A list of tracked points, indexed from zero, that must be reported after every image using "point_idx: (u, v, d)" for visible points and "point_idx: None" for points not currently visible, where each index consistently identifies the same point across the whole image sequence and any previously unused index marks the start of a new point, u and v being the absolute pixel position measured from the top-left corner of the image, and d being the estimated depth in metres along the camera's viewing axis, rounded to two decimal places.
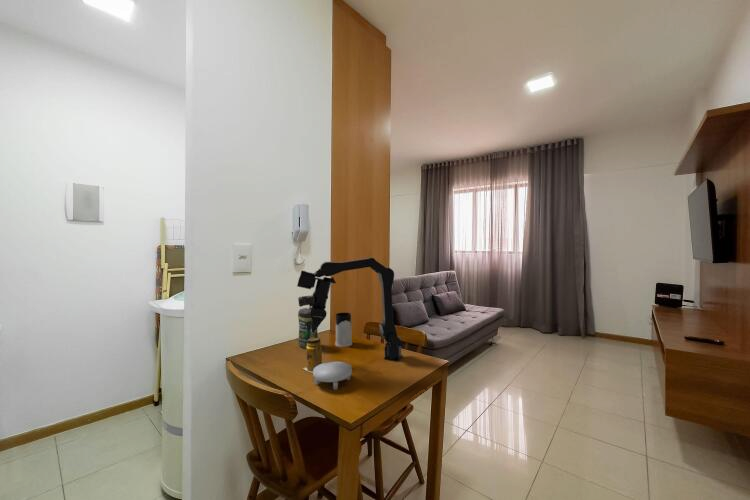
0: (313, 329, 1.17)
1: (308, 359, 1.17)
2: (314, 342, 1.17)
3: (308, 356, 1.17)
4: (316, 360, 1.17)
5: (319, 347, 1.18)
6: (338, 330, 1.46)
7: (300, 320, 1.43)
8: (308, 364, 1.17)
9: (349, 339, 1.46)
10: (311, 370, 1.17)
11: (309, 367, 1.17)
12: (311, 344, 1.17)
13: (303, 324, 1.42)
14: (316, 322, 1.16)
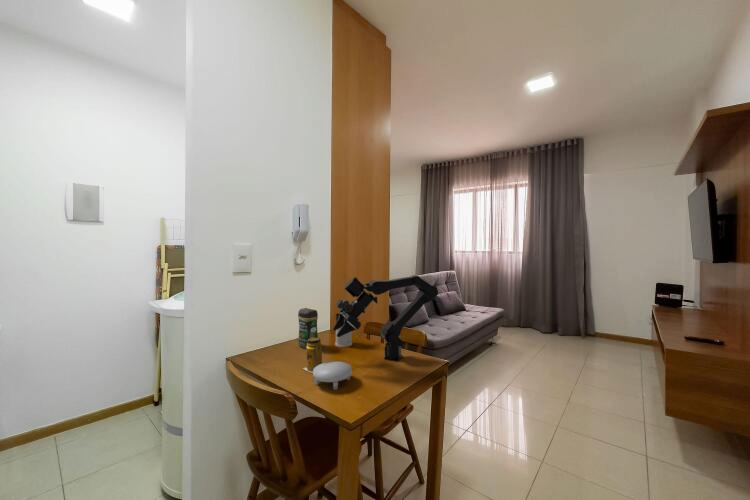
0: (339, 334, 1.17)
1: (308, 359, 1.17)
2: (314, 342, 1.17)
3: (308, 356, 1.17)
4: (316, 360, 1.17)
5: (319, 347, 1.18)
6: (338, 330, 1.46)
7: (300, 320, 1.43)
8: (308, 364, 1.17)
9: (349, 339, 1.46)
10: (311, 370, 1.17)
11: (309, 367, 1.17)
12: (311, 344, 1.17)
13: (303, 324, 1.42)
14: (345, 329, 1.17)
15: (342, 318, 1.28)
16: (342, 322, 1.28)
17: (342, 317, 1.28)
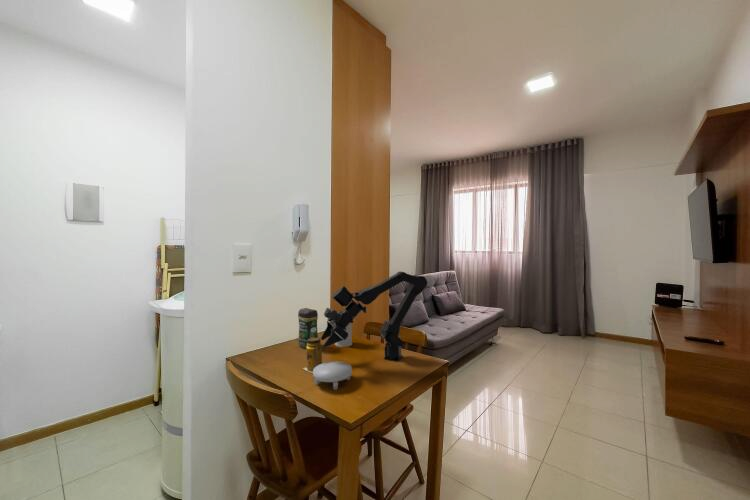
0: (326, 344, 1.16)
1: (308, 359, 1.17)
2: (314, 342, 1.17)
3: (308, 356, 1.17)
4: (316, 360, 1.17)
5: (319, 347, 1.18)
6: None
7: (300, 320, 1.43)
8: (308, 364, 1.17)
9: (349, 339, 1.46)
10: (311, 370, 1.17)
11: (309, 367, 1.17)
12: (311, 344, 1.17)
13: (303, 324, 1.42)
14: (333, 339, 1.16)
15: (330, 327, 1.26)
16: (330, 331, 1.26)
17: (330, 326, 1.27)
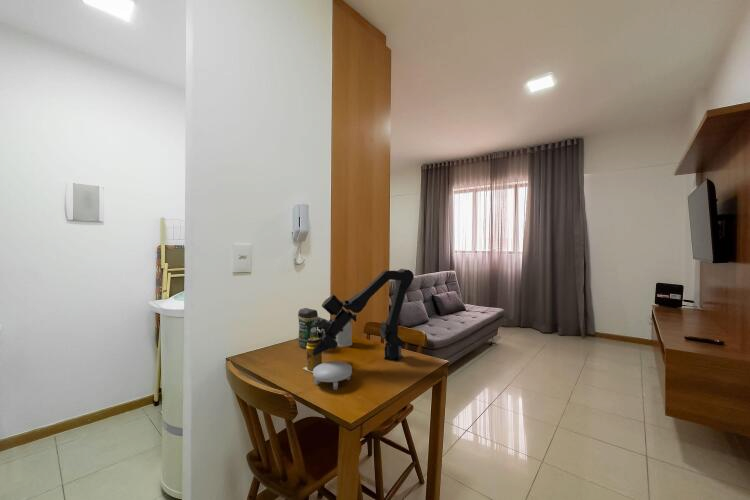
0: (315, 352, 1.16)
1: (308, 359, 1.17)
2: (314, 342, 1.17)
3: (308, 356, 1.17)
4: (316, 359, 1.17)
5: None
6: None
7: (300, 320, 1.43)
8: (308, 364, 1.17)
9: (349, 339, 1.46)
10: (311, 370, 1.17)
11: (309, 367, 1.17)
12: (311, 344, 1.17)
13: (303, 324, 1.42)
14: (321, 348, 1.16)
15: (321, 337, 1.24)
16: None
17: (321, 336, 1.24)
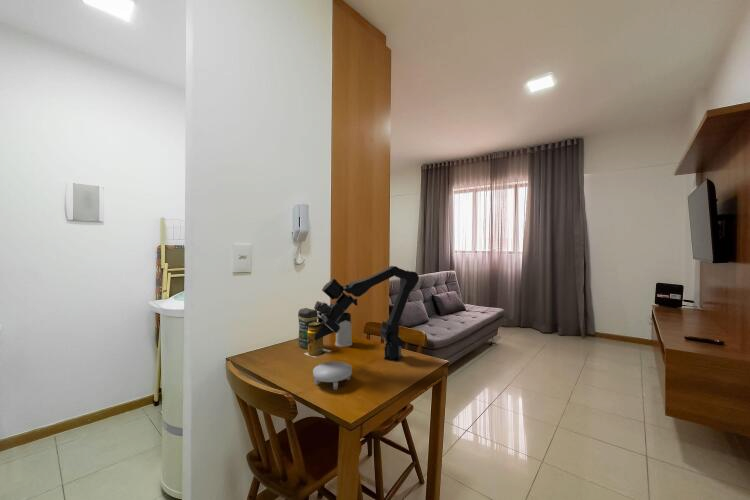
0: (317, 337, 1.14)
1: (309, 343, 1.15)
2: (315, 326, 1.15)
3: (309, 340, 1.15)
4: (317, 344, 1.15)
5: None
6: None
7: (300, 320, 1.43)
8: (309, 349, 1.16)
9: (349, 339, 1.46)
10: (312, 354, 1.15)
11: (310, 352, 1.15)
12: (312, 328, 1.15)
13: (303, 324, 1.42)
14: (323, 332, 1.15)
15: (321, 322, 1.22)
16: None
17: (321, 321, 1.22)
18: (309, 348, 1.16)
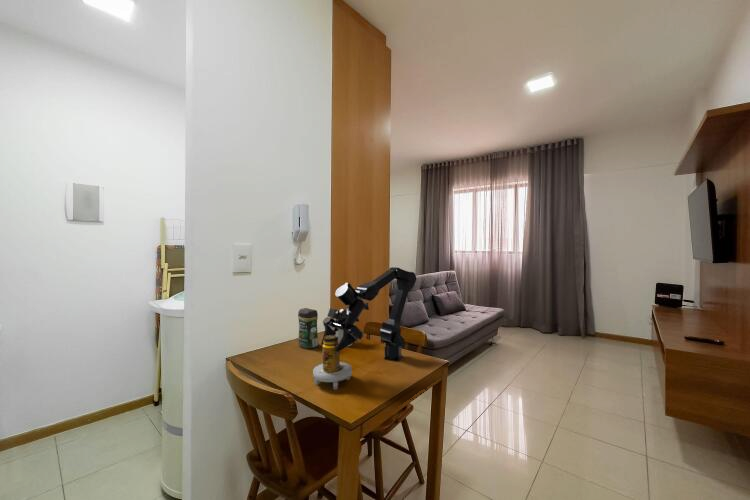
0: (339, 348, 1.03)
1: (328, 360, 1.04)
2: (334, 340, 1.05)
3: (328, 356, 1.04)
4: (337, 359, 1.05)
5: None
6: (338, 330, 1.46)
7: (300, 320, 1.43)
8: (328, 365, 1.04)
9: None
10: (332, 371, 1.04)
11: (329, 368, 1.04)
12: (331, 342, 1.05)
13: (303, 324, 1.42)
14: (345, 342, 1.05)
15: (330, 330, 1.13)
16: None
17: (330, 329, 1.13)
18: (327, 365, 1.04)
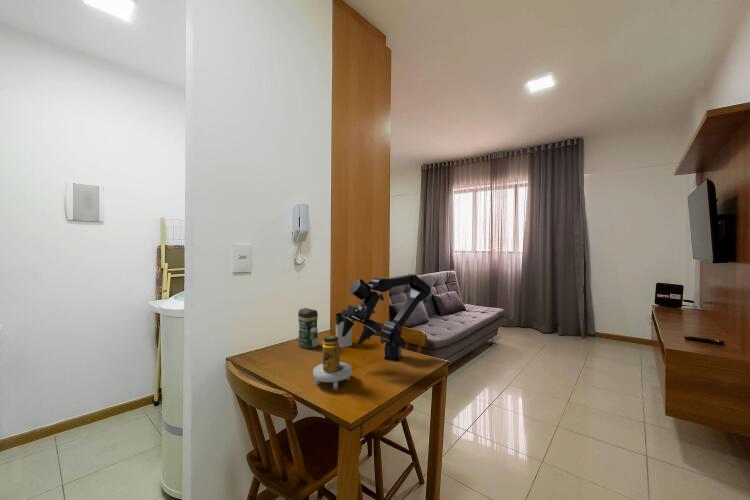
0: (360, 342, 1.13)
1: (328, 360, 1.04)
2: (334, 340, 1.05)
3: (328, 356, 1.04)
4: (337, 359, 1.05)
5: (338, 345, 1.07)
6: (338, 330, 1.46)
7: (300, 320, 1.43)
8: (328, 365, 1.04)
9: (349, 339, 1.46)
10: (332, 371, 1.04)
11: (329, 368, 1.04)
12: (331, 342, 1.05)
13: (303, 324, 1.42)
14: (366, 335, 1.14)
15: (348, 322, 1.22)
16: (349, 326, 1.22)
17: (348, 321, 1.22)
18: (327, 365, 1.04)
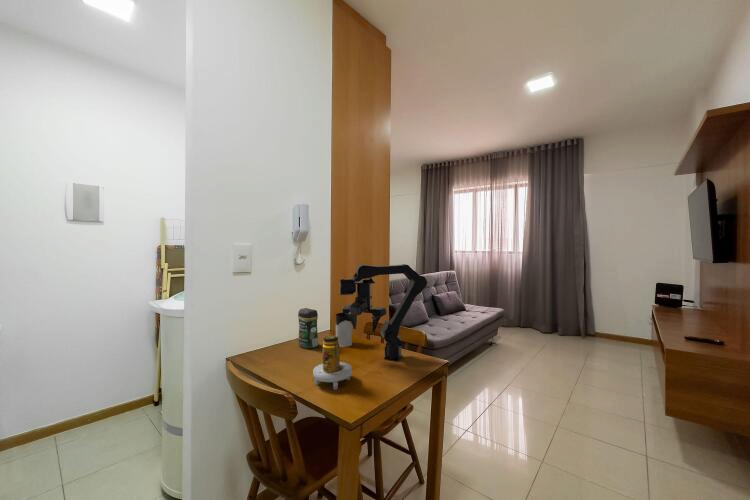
0: (374, 329, 1.24)
1: (328, 360, 1.04)
2: (334, 340, 1.05)
3: (328, 356, 1.04)
4: (337, 359, 1.05)
5: (338, 345, 1.07)
6: (338, 330, 1.46)
7: (300, 320, 1.43)
8: (328, 365, 1.04)
9: (349, 339, 1.46)
10: (332, 371, 1.04)
11: (329, 368, 1.04)
12: (331, 342, 1.05)
13: (303, 324, 1.42)
14: (376, 321, 1.24)
15: (353, 315, 1.28)
16: (355, 317, 1.29)
17: (353, 314, 1.28)
18: (327, 365, 1.04)
